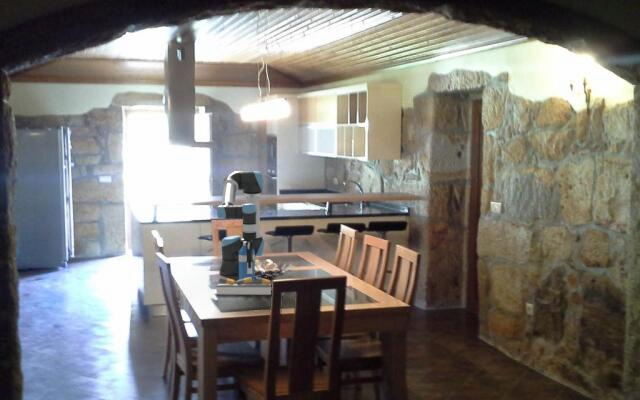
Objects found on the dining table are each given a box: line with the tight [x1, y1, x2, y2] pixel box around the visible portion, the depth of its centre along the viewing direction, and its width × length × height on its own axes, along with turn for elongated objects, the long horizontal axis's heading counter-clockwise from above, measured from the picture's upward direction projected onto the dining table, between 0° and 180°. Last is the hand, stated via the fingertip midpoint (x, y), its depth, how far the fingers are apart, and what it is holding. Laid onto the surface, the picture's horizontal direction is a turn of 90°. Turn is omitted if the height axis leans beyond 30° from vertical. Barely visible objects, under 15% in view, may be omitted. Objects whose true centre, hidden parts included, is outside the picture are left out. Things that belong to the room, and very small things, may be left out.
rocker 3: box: [255, 276, 271, 285], centre depth 384 cm, size 5×8×2 cm, turn 90°
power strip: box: [216, 280, 273, 296], centre depth 385 cm, size 10×30×5 cm, turn 90°
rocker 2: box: [236, 277, 252, 285], centre depth 385 cm, size 5×8×2 cm, turn 90°
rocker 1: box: [218, 276, 236, 285], centre depth 385 cm, size 5×8×2 cm, turn 90°
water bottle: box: [238, 241, 256, 281], centre depth 404 cm, size 9×9×25 cm
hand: (249, 273), depth 384 cm, fingers closed
